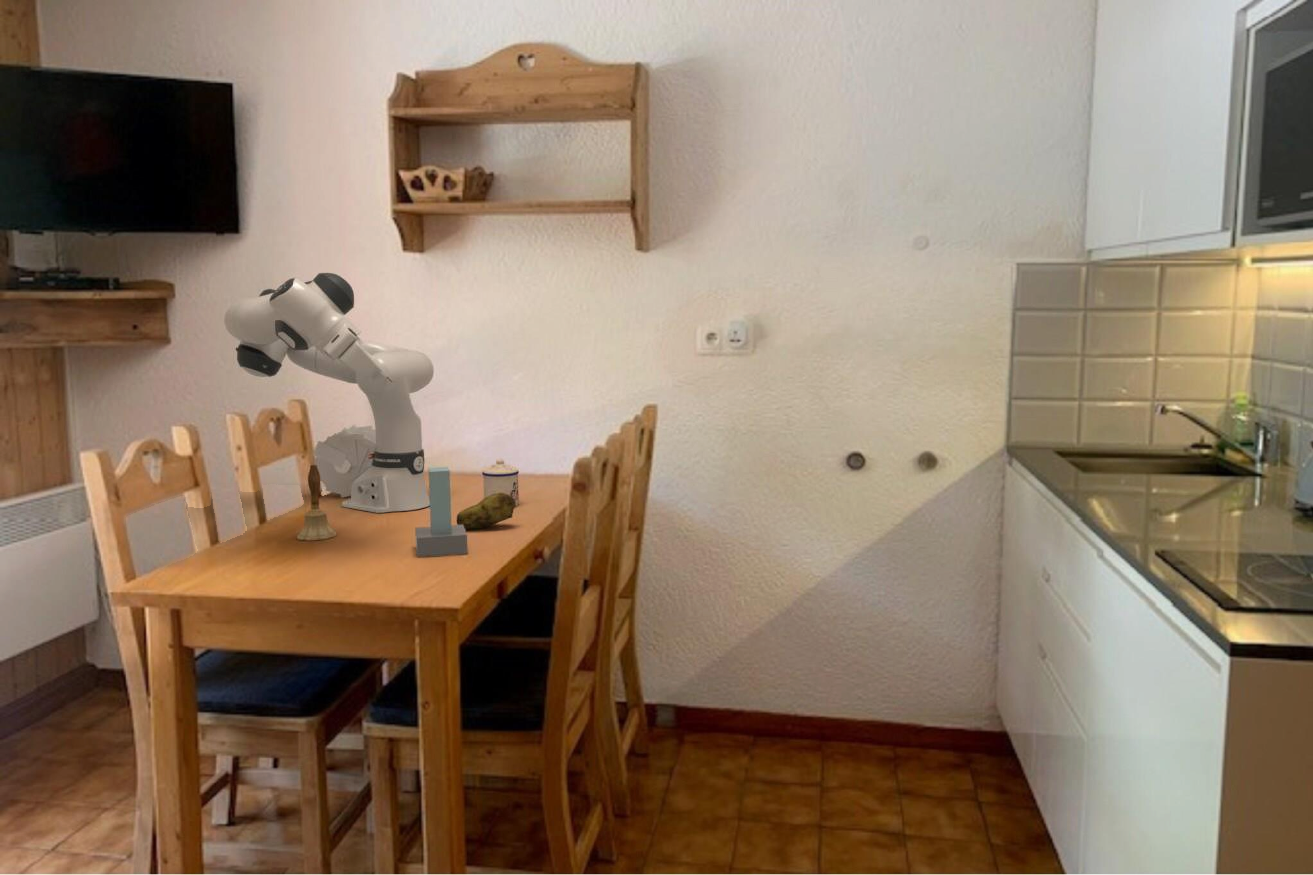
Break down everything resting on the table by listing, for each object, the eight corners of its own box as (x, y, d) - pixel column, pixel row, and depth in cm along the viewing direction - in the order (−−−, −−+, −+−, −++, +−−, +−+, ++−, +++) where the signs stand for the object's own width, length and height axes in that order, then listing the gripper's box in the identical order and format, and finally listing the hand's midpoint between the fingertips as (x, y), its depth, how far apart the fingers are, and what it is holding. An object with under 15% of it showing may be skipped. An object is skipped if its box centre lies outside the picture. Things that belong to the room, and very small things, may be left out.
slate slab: (417, 557, 211) (416, 538, 210) (415, 546, 221) (415, 527, 220) (467, 553, 214) (466, 534, 213) (463, 542, 223) (463, 524, 223)
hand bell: (302, 532, 234) (298, 462, 232) (339, 531, 235) (336, 461, 233) (292, 541, 226) (288, 468, 224) (331, 540, 227) (328, 468, 224)
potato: (463, 524, 242) (462, 490, 240) (518, 524, 241) (517, 490, 240) (454, 532, 233) (453, 497, 232) (511, 532, 233) (510, 497, 231)
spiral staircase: (382, 497, 295) (360, 511, 271) (325, 471, 294) (297, 482, 269) (409, 439, 294) (389, 447, 269) (351, 412, 293) (326, 418, 268)
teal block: (431, 534, 214) (429, 471, 212) (430, 529, 219) (428, 467, 217) (451, 533, 215) (449, 470, 213) (450, 527, 220) (448, 466, 218)
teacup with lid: (518, 508, 258) (516, 462, 256) (481, 509, 258) (479, 463, 256) (522, 499, 270) (521, 455, 268) (486, 500, 269) (485, 455, 268)
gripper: (331, 350, 228) (380, 393, 231) (328, 355, 208) (381, 401, 212) (352, 329, 228) (400, 372, 232) (350, 332, 208) (402, 379, 212)
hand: (391, 386), depth 222 cm, fingers open, 8 cm apart
